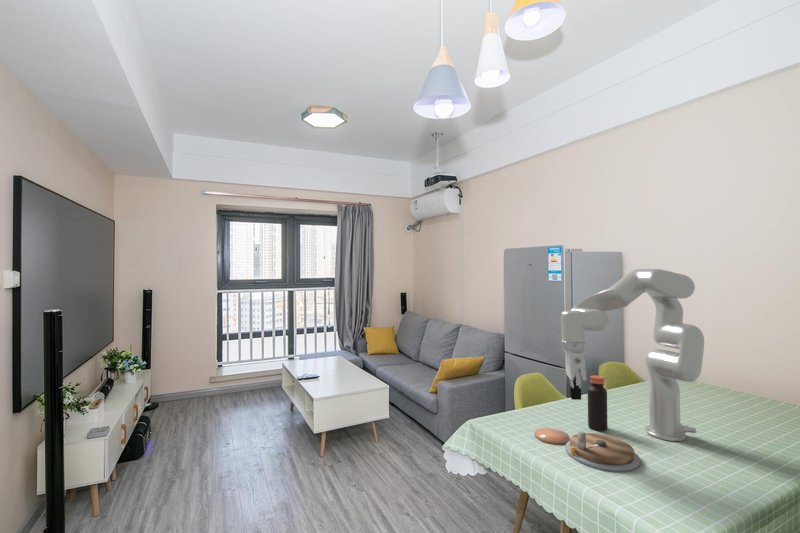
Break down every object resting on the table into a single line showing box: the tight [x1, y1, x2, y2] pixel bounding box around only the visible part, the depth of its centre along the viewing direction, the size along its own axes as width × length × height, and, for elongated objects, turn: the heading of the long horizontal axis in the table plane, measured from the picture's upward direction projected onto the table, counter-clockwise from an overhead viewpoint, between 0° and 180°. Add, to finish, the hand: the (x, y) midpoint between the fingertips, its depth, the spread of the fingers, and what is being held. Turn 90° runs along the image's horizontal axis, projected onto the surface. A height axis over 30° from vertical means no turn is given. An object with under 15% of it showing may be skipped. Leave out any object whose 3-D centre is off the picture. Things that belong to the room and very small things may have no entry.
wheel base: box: [565, 440, 641, 473], centre depth 127 cm, size 22×22×3 cm
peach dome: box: [534, 427, 570, 445], centre depth 141 cm, size 12×12×1 cm
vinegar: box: [587, 375, 608, 432], centre depth 150 cm, size 7×7×20 cm
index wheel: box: [569, 431, 635, 465], centre depth 127 cm, size 19×19×7 cm
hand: (575, 398), depth 132 cm, fingers closed
